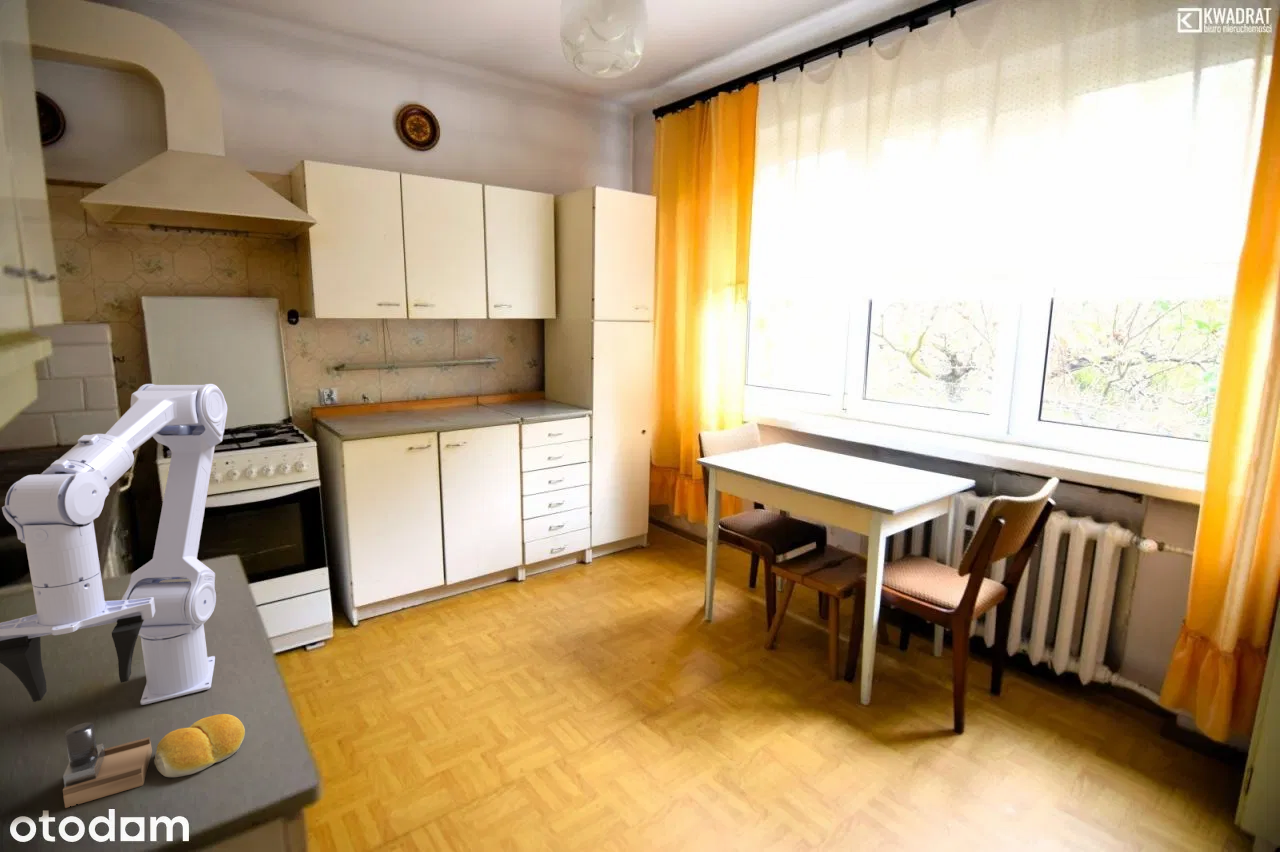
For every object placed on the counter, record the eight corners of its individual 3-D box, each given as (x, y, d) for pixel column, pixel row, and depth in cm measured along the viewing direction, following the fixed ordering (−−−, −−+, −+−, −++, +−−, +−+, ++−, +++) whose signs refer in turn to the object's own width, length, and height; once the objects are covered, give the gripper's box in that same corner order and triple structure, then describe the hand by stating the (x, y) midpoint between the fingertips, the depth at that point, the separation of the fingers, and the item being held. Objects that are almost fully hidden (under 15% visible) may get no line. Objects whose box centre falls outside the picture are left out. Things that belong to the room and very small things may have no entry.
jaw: (76, 762, 72) (69, 721, 71) (105, 754, 73) (99, 714, 72) (65, 788, 68) (57, 745, 67) (96, 779, 69) (89, 737, 68)
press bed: (80, 771, 73) (77, 755, 72) (152, 751, 76) (149, 736, 76) (65, 808, 67) (62, 790, 67) (143, 785, 71) (140, 768, 70)
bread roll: (256, 746, 77) (253, 718, 77) (171, 790, 70) (167, 758, 70) (228, 721, 82) (225, 694, 82) (146, 759, 75) (142, 729, 74)
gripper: (-38, 605, 63) (-16, 725, 65) (141, 577, 70) (156, 686, 73) (-12, 580, 69) (8, 691, 71) (152, 556, 76) (165, 658, 79)
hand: (84, 687), depth 72 cm, fingers open, 7 cm apart
